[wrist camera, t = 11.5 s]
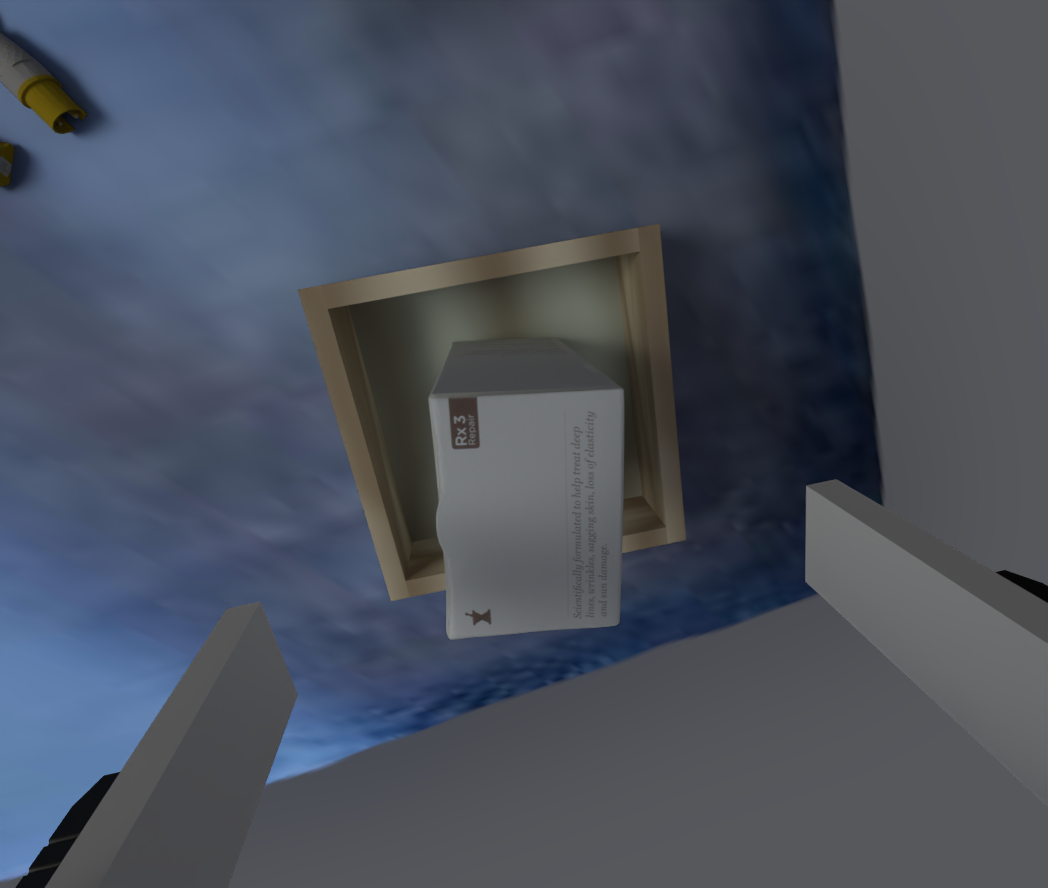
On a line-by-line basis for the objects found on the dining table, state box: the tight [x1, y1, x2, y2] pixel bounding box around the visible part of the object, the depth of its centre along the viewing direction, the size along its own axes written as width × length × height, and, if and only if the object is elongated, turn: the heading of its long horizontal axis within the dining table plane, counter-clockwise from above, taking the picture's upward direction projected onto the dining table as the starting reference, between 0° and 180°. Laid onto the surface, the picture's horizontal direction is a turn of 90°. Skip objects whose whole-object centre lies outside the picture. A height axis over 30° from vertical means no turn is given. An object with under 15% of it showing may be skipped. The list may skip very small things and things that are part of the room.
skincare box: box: [428, 337, 624, 640], centre depth 23 cm, size 8×6×15 cm
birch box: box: [298, 224, 686, 601], centre depth 29 cm, size 16×16×5 cm
